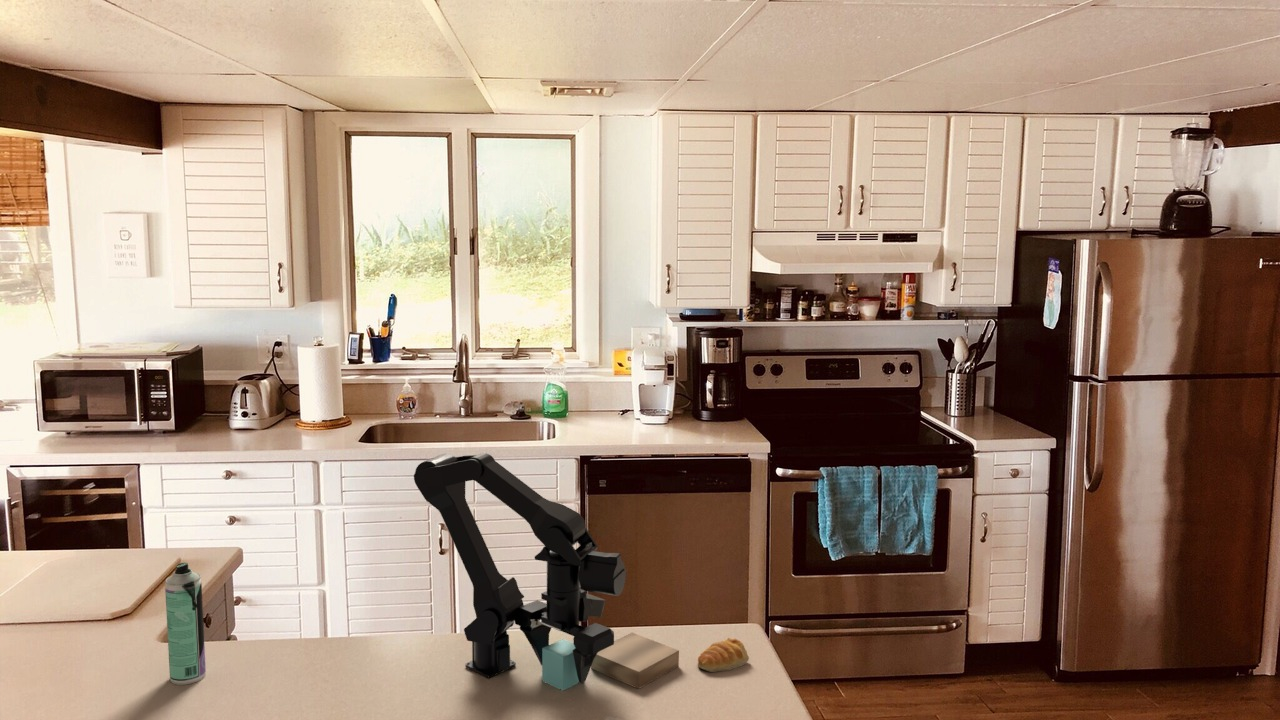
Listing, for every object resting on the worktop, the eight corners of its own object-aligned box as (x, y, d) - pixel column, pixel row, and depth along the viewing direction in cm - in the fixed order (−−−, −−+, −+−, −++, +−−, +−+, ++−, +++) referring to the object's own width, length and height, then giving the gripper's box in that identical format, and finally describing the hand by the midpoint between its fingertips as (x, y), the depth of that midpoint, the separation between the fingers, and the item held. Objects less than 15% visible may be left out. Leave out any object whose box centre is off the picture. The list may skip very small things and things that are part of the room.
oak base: (591, 668, 163) (591, 652, 162) (631, 647, 171) (632, 632, 171) (638, 688, 156) (638, 671, 155) (678, 666, 164) (679, 650, 163)
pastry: (714, 679, 160) (715, 658, 159) (688, 665, 165) (688, 645, 164) (751, 663, 166) (752, 643, 165) (724, 651, 171) (725, 631, 170)
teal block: (542, 681, 158) (542, 648, 157) (563, 671, 162) (563, 638, 161) (563, 691, 155) (563, 657, 154) (583, 680, 158) (583, 647, 158)
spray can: (213, 672, 159) (207, 561, 156) (188, 687, 153) (182, 571, 151) (188, 667, 160) (182, 556, 158) (162, 681, 155) (156, 567, 153)
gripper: (636, 587, 156) (634, 674, 158) (558, 561, 168) (558, 642, 170) (591, 606, 147) (590, 698, 150) (512, 577, 159) (512, 662, 161)
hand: (563, 673), depth 158 cm, fingers open, 9 cm apart
